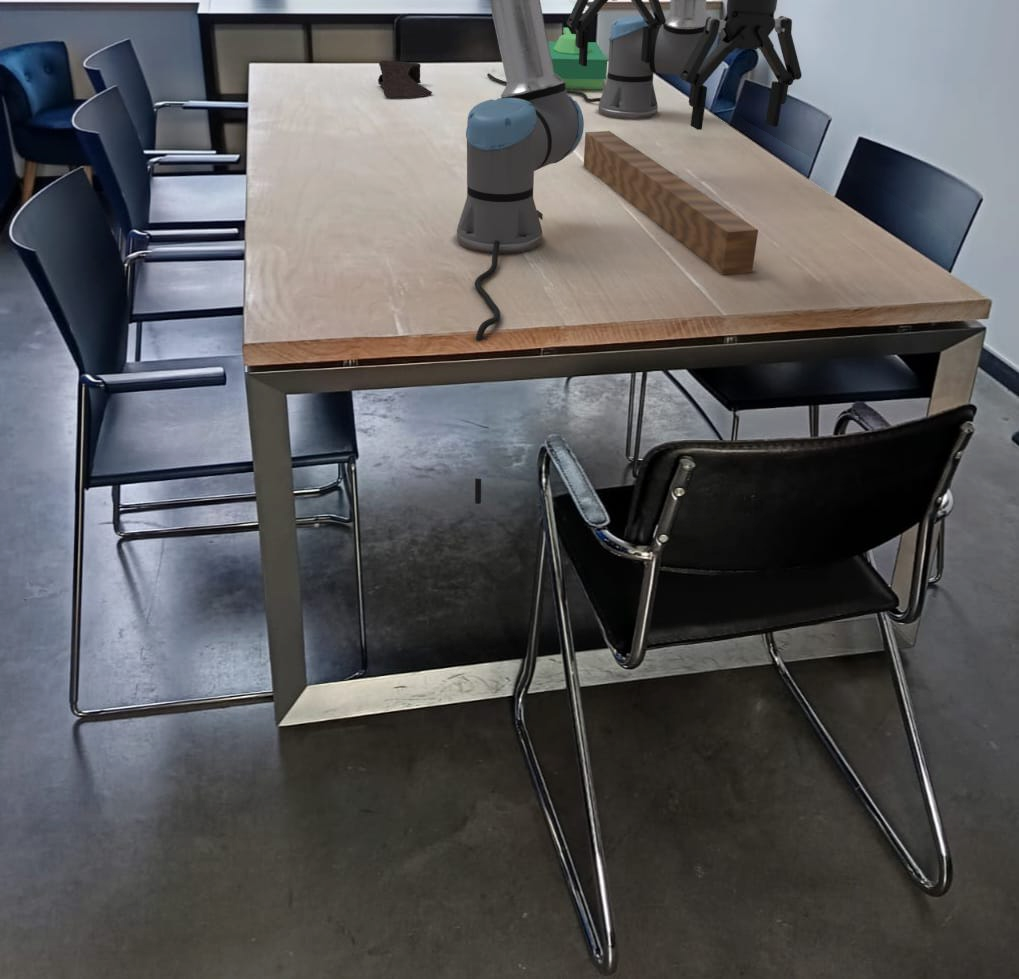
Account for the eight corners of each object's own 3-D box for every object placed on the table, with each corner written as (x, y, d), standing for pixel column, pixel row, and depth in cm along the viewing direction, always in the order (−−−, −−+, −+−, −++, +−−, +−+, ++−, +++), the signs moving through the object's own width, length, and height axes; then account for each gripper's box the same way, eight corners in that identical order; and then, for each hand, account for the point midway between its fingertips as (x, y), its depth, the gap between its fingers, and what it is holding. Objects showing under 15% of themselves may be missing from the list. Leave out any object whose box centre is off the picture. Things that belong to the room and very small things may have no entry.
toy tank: (594, 24, 327) (608, 45, 298) (591, 67, 334) (605, 92, 304) (535, 23, 327) (543, 44, 297) (533, 66, 333) (541, 91, 303)
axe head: (443, 87, 294) (392, 77, 287) (436, 115, 299) (385, 106, 292) (421, 62, 307) (371, 52, 300) (414, 89, 311) (365, 80, 304)
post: (752, 272, 185) (758, 229, 181) (722, 274, 183) (728, 232, 179) (607, 165, 240) (609, 130, 236) (583, 166, 239) (585, 132, 235)
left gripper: (814, -20, 173) (790, 117, 184) (669, -20, 166) (654, 123, 178) (839, -13, 167) (813, 129, 178) (690, -13, 160) (673, 135, 171)
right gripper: (566, -49, 205) (562, 70, 216) (688, -52, 211) (678, 64, 222) (553, -54, 211) (550, 62, 222) (672, -57, 217) (663, 56, 228)
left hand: (734, 126), depth 178 cm, fingers open, 13 cm apart
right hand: (614, 63), depth 222 cm, fingers open, 13 cm apart
